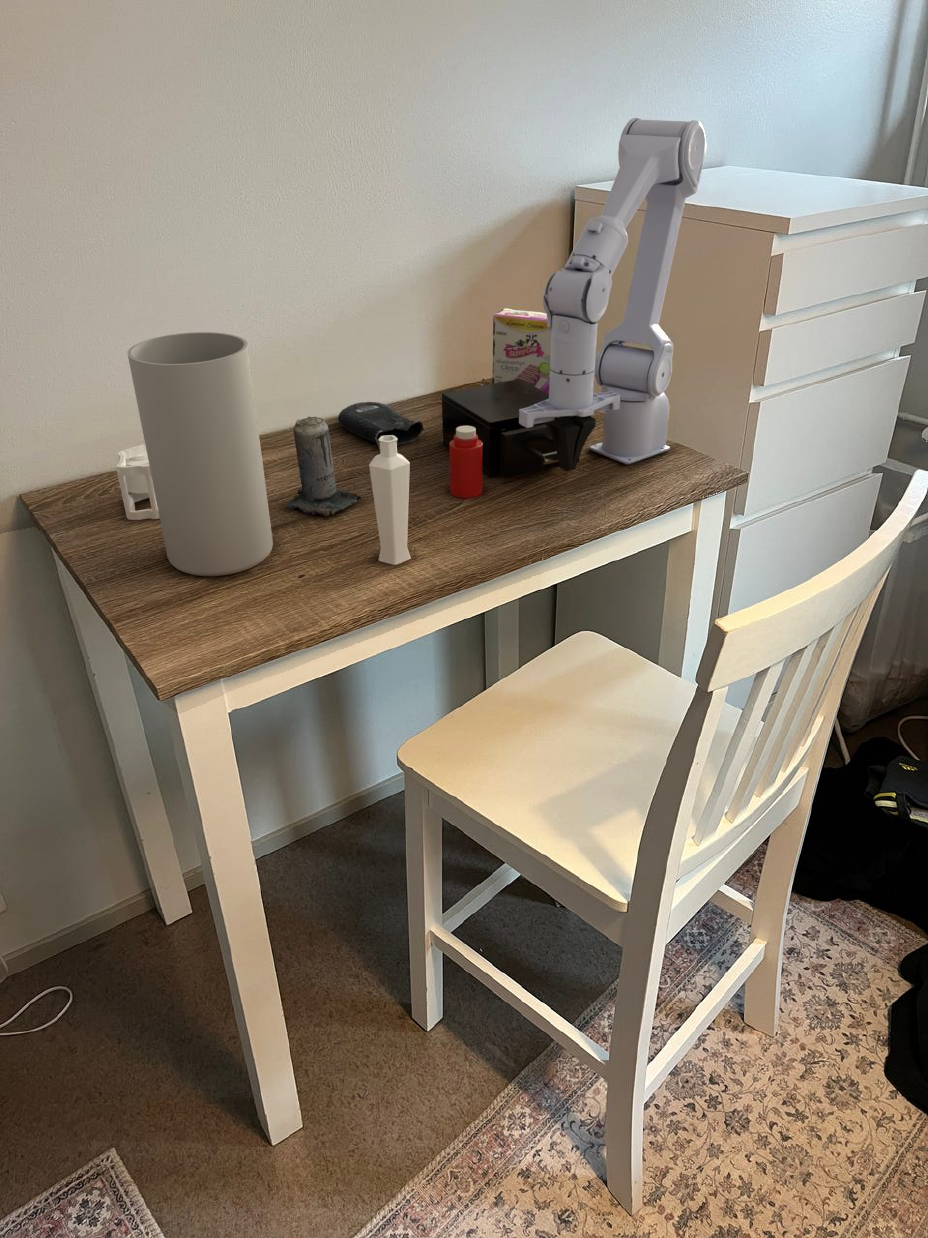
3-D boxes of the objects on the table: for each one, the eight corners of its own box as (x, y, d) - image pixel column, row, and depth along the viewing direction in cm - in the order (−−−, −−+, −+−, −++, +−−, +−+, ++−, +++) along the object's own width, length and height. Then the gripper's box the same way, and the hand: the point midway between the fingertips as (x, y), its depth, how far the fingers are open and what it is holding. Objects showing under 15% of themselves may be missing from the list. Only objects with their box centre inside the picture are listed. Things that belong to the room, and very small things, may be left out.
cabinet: (569, 459, 140) (572, 406, 135) (489, 477, 134) (489, 422, 130) (518, 428, 151) (519, 378, 146) (442, 444, 145) (441, 392, 141)
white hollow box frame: (246, 464, 139) (239, 416, 135) (277, 490, 131) (270, 439, 127) (108, 496, 130) (97, 445, 126) (132, 526, 122) (121, 472, 118)
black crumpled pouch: (428, 445, 149) (378, 407, 158) (426, 414, 145) (374, 377, 154) (378, 466, 145) (329, 426, 154) (374, 435, 141) (324, 395, 150)
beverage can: (281, 512, 125) (270, 425, 119) (308, 490, 131) (300, 406, 125) (343, 522, 122) (335, 433, 116) (368, 499, 128) (362, 413, 122)
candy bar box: (490, 416, 156) (491, 314, 147) (502, 406, 160) (503, 307, 151) (555, 425, 152) (559, 321, 143) (565, 415, 156) (570, 313, 147)
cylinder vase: (279, 570, 111) (252, 358, 98) (169, 586, 108) (127, 369, 95) (267, 525, 122) (241, 328, 108) (166, 538, 119) (127, 337, 106)
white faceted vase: (408, 567, 112) (403, 447, 104) (373, 564, 112) (364, 444, 105) (418, 550, 116) (413, 432, 108) (383, 547, 116) (376, 430, 108)
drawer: (598, 473, 133) (601, 430, 130) (522, 490, 128) (523, 446, 125) (530, 432, 147) (531, 392, 143) (459, 447, 142) (458, 406, 138)
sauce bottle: (468, 482, 133) (468, 420, 128) (488, 492, 130) (489, 429, 125) (443, 490, 131) (442, 428, 126) (463, 500, 128) (463, 437, 123)
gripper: (541, 386, 115) (537, 489, 122) (637, 368, 121) (628, 467, 128) (511, 370, 120) (509, 470, 128) (605, 354, 126) (598, 450, 133)
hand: (567, 468), depth 128 cm, fingers closed, pressing on drawer
